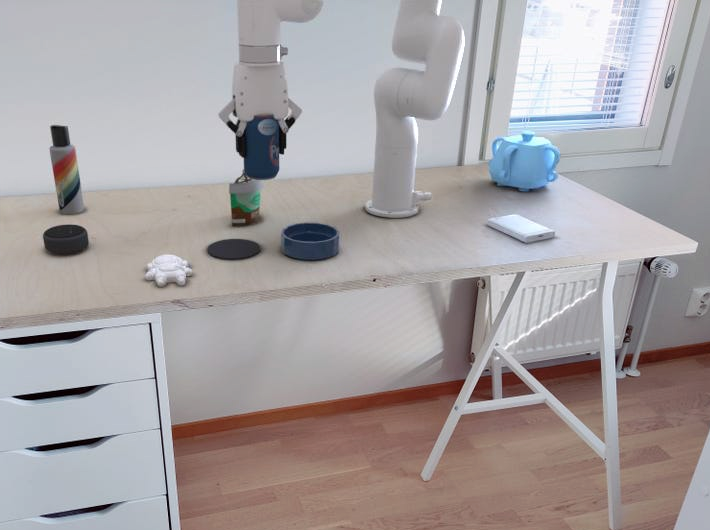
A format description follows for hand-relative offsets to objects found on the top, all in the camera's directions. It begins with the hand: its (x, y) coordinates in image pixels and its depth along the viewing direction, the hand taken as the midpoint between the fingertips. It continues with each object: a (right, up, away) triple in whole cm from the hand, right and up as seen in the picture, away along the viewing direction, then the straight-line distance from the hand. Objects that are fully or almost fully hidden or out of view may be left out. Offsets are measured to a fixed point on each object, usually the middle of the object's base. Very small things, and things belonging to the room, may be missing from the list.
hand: (261, 153), depth 137 cm
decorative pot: (+66, +6, +50) cm, 84 cm away
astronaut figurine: (-18, -24, -1) cm, 30 cm away
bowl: (+10, -17, +10) cm, 22 cm away
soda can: (0, -4, +2) cm, 5 cm away
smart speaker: (-41, -17, +11) cm, 46 cm away
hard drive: (+57, -12, +20) cm, 61 cm away
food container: (-3, -8, +26) cm, 28 cm away
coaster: (-6, -17, +10) cm, 21 cm away
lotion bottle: (-46, -5, +32) cm, 57 cm away
